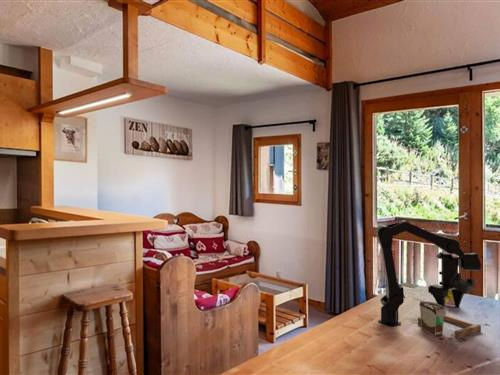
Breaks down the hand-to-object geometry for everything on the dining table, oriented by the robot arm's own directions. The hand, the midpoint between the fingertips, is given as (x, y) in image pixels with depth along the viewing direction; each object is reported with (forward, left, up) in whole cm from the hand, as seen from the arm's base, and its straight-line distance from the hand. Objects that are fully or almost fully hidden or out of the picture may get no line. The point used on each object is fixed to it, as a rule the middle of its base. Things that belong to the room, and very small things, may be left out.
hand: (449, 309), depth 146 cm
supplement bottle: (+26, +17, -7) cm, 32 cm away
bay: (-8, 0, -7) cm, 11 cm away
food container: (-9, 0, -7) cm, 12 cm away
